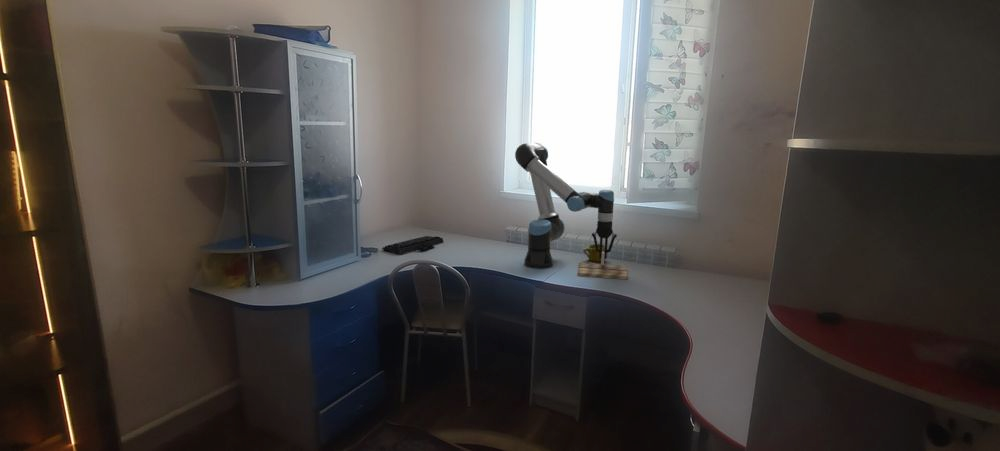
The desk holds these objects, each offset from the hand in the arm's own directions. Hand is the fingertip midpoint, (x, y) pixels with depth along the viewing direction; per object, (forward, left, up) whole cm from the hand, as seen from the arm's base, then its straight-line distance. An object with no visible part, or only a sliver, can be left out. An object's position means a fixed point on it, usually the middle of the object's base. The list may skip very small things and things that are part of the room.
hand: (602, 264), depth 250 cm
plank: (0, -2, -2) cm, 3 cm away
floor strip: (0, -12, -2) cm, 12 cm away
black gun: (-108, +15, -3) cm, 109 cm away
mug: (-4, +14, -2) cm, 15 cm away
